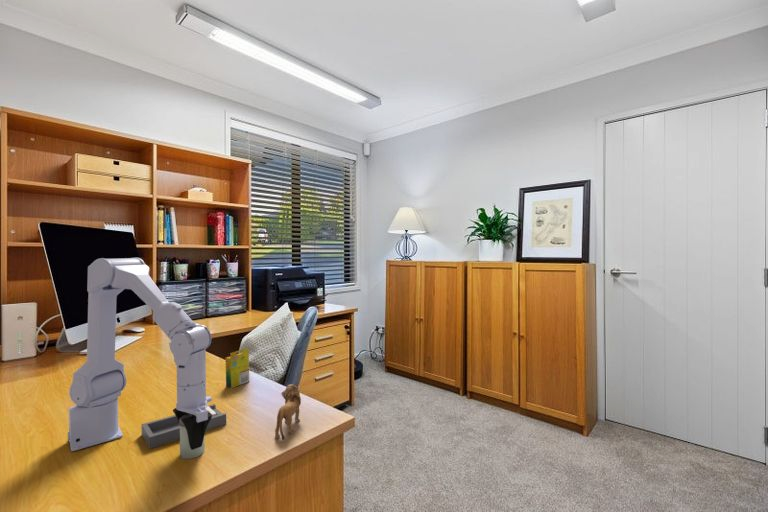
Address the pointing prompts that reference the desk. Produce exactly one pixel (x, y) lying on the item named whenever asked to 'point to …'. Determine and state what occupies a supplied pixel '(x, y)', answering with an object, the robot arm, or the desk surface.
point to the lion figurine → (288, 409)
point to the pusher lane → (173, 428)
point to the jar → (184, 443)
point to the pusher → (211, 411)
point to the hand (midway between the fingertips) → (192, 443)
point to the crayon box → (237, 368)
